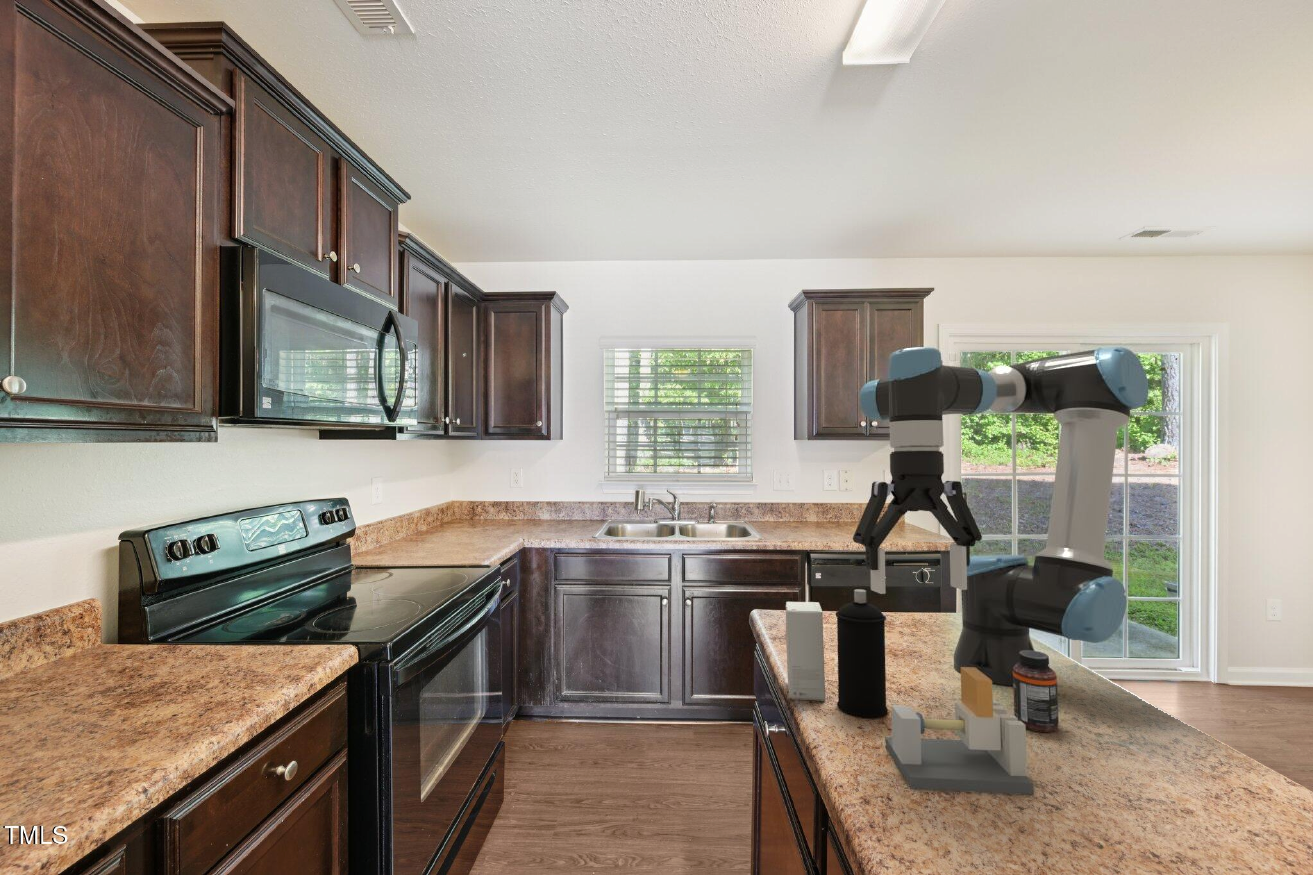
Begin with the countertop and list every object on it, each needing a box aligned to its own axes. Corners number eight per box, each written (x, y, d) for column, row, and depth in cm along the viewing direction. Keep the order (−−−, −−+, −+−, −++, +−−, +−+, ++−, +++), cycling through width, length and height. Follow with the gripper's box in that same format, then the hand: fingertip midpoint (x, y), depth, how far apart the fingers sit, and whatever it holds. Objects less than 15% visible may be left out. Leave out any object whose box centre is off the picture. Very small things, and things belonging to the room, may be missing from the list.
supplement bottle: (1016, 713, 97) (1014, 645, 98) (1059, 723, 94) (1057, 652, 94) (1012, 727, 93) (1009, 654, 93) (1057, 737, 89) (1055, 662, 89)
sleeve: (984, 733, 82) (982, 667, 82) (1002, 751, 77) (1000, 680, 77) (954, 732, 82) (953, 666, 83) (970, 750, 78) (968, 679, 78)
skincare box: (825, 702, 102) (824, 612, 103) (787, 699, 104) (786, 610, 104) (821, 684, 111) (820, 601, 111) (786, 681, 112) (785, 599, 112)
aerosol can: (863, 723, 94) (861, 598, 95) (826, 704, 101) (824, 588, 102) (898, 713, 98) (896, 592, 99) (860, 695, 105) (859, 583, 106)
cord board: (992, 751, 85) (990, 695, 85) (1033, 794, 74) (1031, 730, 74) (885, 747, 86) (884, 692, 86) (910, 788, 75) (909, 725, 76)
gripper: (970, 450, 95) (973, 581, 95) (828, 450, 91) (830, 588, 90) (1006, 449, 88) (1009, 591, 87) (853, 449, 83) (856, 599, 83)
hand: (919, 590), depth 88 cm, fingers open, 13 cm apart
